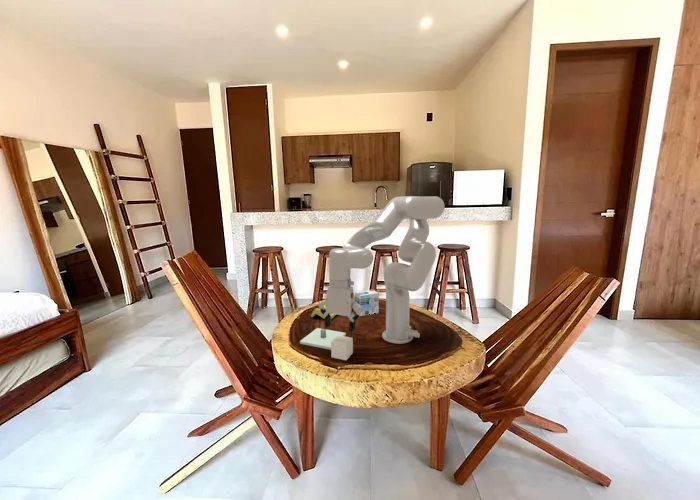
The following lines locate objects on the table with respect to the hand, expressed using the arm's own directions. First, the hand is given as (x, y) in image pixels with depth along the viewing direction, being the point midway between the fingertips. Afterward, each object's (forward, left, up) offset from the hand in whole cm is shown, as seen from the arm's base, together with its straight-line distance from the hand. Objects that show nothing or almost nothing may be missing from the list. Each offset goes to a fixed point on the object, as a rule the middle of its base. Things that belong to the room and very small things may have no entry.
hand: (339, 328), depth 111 cm
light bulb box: (+7, -45, -11) cm, 46 cm away
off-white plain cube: (0, -1, -11) cm, 11 cm away
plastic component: (+24, -37, -11) cm, 46 cm away
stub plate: (+13, -10, -11) cm, 19 cm away
